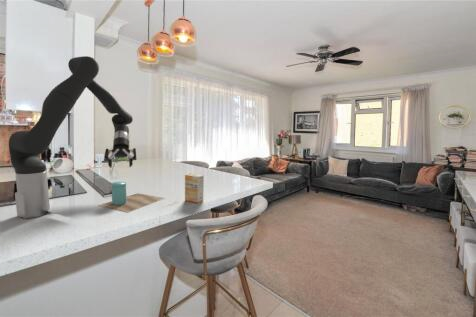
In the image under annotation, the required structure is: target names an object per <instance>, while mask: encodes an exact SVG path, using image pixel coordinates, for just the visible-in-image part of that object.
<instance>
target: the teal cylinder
mask: <svg viewBox="0 0 476 317" xmlns="http://www.w3.org/2000/svg"><path fill="white" fill-rule="evenodd" d="M110 186H111V187H110V188H111V201H112V204H114V205H122V204H125V203H126V202H127V181H115V182H111V184H110Z"/></svg>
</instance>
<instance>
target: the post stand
mask: <svg viewBox="0 0 476 317" xmlns="http://www.w3.org/2000/svg"><path fill="white" fill-rule="evenodd" d="M126 197H127V202H126V203H125V204H122V205H114V204H112V200H111V201H109V202H108V201H107V202H105V203H102V204H98V205H97V206H98V207H101V208H106V209H110V210H114V211H118V212H123V213H126V214H129V213H130V212H132V211H136V210H138V209H140V208H143V207H147V206H149V205H152V204H153V203H156V202H158V201H159V202H160V201H161V200H164V199H165V197H161V196H156V195H155V196H154V195H152V194H151V195H150V194H144V193H140V192H139V193H138V192H137V193H134V194H130V195H126Z"/></svg>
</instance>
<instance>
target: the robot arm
mask: <svg viewBox="0 0 476 317" xmlns="http://www.w3.org/2000/svg"><path fill="white" fill-rule="evenodd" d="M67 66H68V68H69V71H70V72H71V73H72V74H71V75H70V76H69V77H67V78H66V79H65V80H63V81H61V82H60V83H59V84H57V85H56V86H55V87H54V88H52V89H51V91H50V92H49V94H48V95H47V96H46V97H45V98H44V100H43V102H42V108H41V114H40V117H39V119H38V121H37V122H36V123H35V124H34V125H33V127H32V128H31V129H30V130H16V131H15V132H13V133H12V134H11V135H10V137H9V139H8V150H9V156H10V162H11V165H12V168H13V169H14V173H15V182H16V190H17V191H16V192H15V193H14V200H15V207H16V208H15V209H16V216H17V217H18V216H19V217H18V218H21V217H22V219H25V220H26V219H31V218H38V217H42V216H45V215H48V214H49V213H50V212H51V211H49V210H50V209H51V208H50V206H51V205H50V196H49V194H50V193H49V186H48V185H49V184H48V173H47V164H46V163H44V162H43V161H42V160H41V159H40V156H39V155H42V154H43V153H45V152H46V151H47V150H48V148H49V147H50V144H52V141H53V139H54V137H55V135H56V133H57V131H58V130H59V129H60V126H61V125H62V124H63V122H64V121H65V119H66V118H67V116H68V114H69V113H70V112H71V110H73V107H74V106H75V105H76V103H77V101H78V99H79V98H80V97H81V96H82V94H83V93H84V91H85V89H87V90H88V91H89V92H90V93H91V94H92V95H94V97H95V98H96V99H97V100H98V101H99V102H100V103H101V105H102V106H103V107H104V108H105V110H106V111H107V112H108V113H109V114H111V115H112V114H114V115H113V116H112V117H111V123H112V125H113V127H114V128H113V129H114V134H113V141H112V142H113V143H112V144H113V145H112V146H113V147H112V149H109V148H105V151H104V160H105V162H107V164H108V167H109V168H110V169H112V168H113V161H114V160H116V159H117V158H118V159H119V158H121V159H122V158H123V159H124V158H126V159H127V160H128V162H129V166H128V167H129V168H131V167H133V161H136V160H137V149H136V147H135V148H132V149H130V128H129V126H128V125H130V124H132V123H133V120H134V119H133V116H132V114H131V113H130V112H129V111H128V110H127V109H125V108H124V107H123V106H122V105H121V104H120V103H119V102H118V101H117V99H116V97H115V96H114V94H112V93H111V92H110V91H109V90H107V89H106V88H105V87H103V85H101V84H100V83H99V82H97V81H96V79H95V78H96V77H97V76H98V74H99V71H100V66H99V62H98V61H97V60H96V59H95V58H93V57H91V56H87V55H86V56H84V55H83V56H76V57H72V58H70V59H69V61H68V65H67ZM130 153H131V154H133V156H132V155H131V154H130ZM109 155H110V156H109Z"/></svg>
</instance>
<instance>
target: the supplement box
mask: <svg viewBox="0 0 476 317" xmlns="http://www.w3.org/2000/svg"><path fill="white" fill-rule="evenodd" d="M204 184H205V183H204V175H202V174H196V173H195V174H194V173H192V172H191V173H186V174H184V201H187V202H193V203H196V204H200V203H202V202H204V187H205V186H204Z"/></svg>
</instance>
